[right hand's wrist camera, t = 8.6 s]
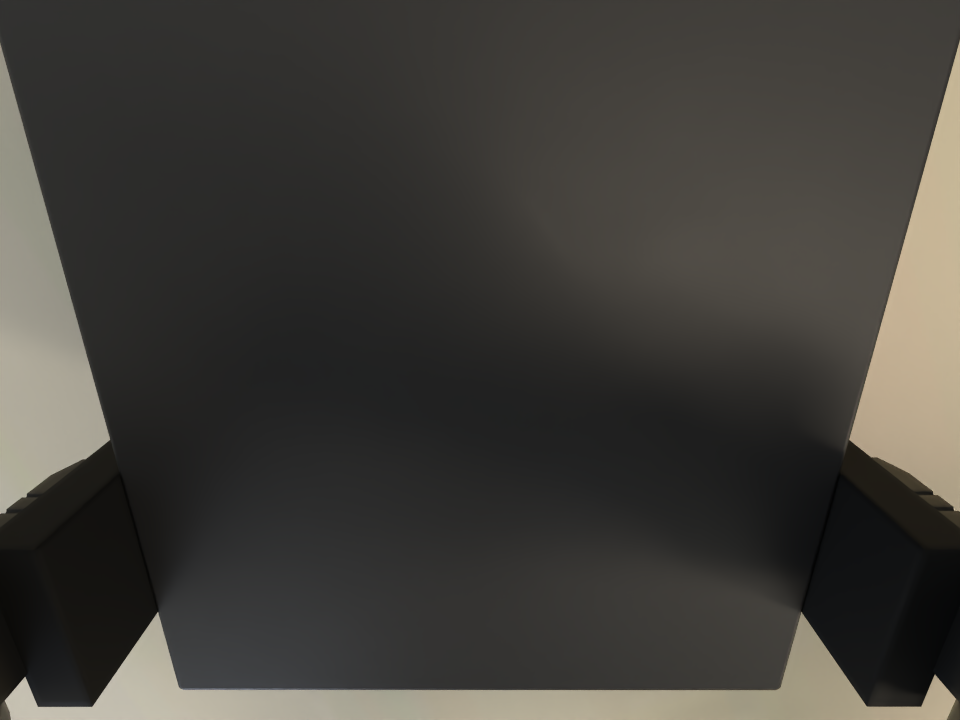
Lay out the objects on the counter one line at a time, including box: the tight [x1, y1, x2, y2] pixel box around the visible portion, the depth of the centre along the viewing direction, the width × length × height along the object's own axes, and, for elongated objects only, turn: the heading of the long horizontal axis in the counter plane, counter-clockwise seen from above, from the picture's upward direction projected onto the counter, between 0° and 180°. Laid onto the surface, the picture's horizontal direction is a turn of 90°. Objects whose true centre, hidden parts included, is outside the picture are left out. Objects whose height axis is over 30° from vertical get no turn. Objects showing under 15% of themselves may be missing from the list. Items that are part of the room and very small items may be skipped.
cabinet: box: [0, 0, 960, 690], centre depth 10 cm, size 19×11×8 cm, turn 0°
